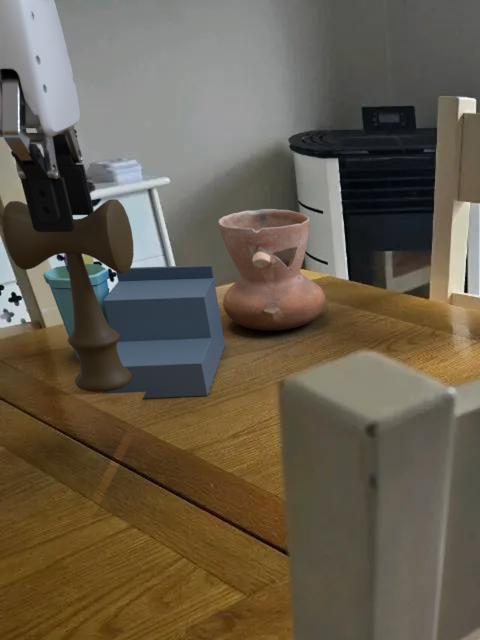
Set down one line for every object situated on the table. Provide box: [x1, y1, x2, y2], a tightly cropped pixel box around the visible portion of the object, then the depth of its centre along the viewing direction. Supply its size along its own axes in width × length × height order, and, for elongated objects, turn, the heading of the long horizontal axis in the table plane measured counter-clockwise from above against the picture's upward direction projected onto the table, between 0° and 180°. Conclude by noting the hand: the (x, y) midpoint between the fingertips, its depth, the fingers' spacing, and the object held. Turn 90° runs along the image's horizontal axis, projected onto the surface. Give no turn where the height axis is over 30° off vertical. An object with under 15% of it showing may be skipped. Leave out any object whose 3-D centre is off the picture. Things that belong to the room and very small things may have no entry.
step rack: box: [101, 264, 226, 400], centre depth 102 cm, size 12×18×10 cm, turn 6°
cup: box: [42, 253, 110, 360], centre depth 105 cm, size 14×8×15 cm, turn 14°
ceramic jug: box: [217, 208, 326, 332], centre depth 117 cm, size 18×14×14 cm
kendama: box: [1, 167, 134, 393], centre depth 74 cm, size 6×10×20 cm, turn 91°
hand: (65, 220), depth 71 cm, fingers closed on kendama, 5 cm apart
